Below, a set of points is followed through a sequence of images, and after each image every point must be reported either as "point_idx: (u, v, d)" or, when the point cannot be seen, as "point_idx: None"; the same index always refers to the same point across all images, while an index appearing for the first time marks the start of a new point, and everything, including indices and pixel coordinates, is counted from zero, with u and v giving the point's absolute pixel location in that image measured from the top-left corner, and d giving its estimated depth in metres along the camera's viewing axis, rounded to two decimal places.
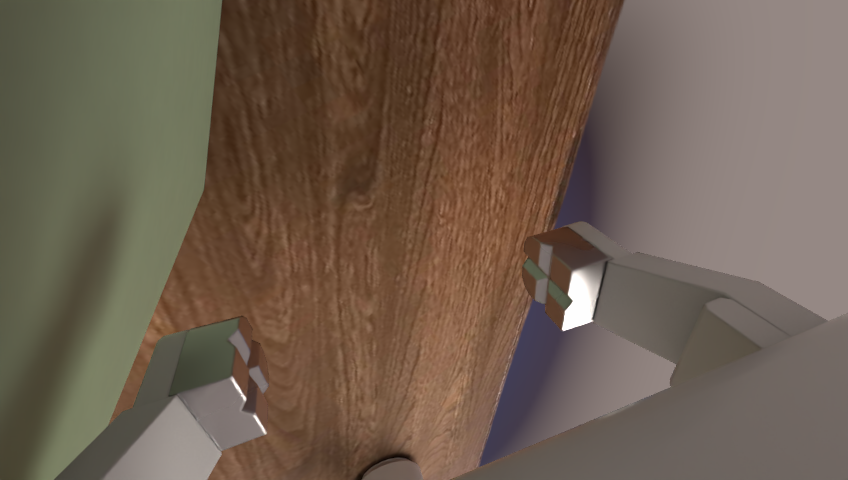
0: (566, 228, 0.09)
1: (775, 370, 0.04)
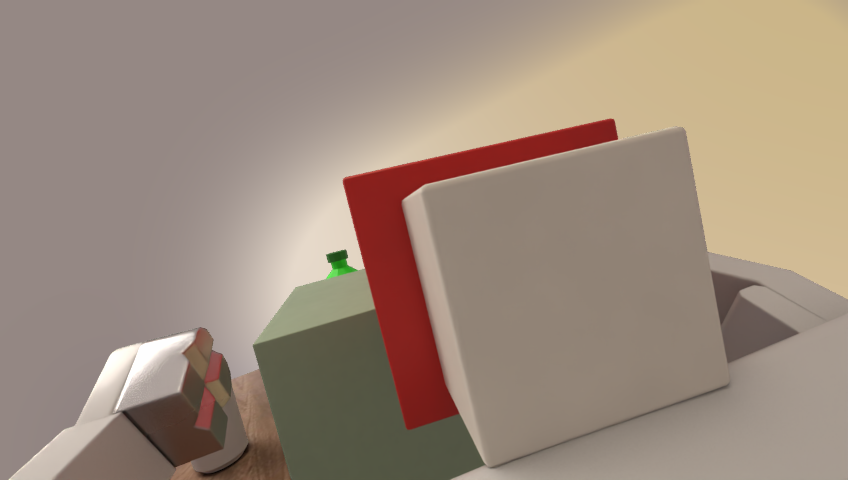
0: None
1: (774, 369, 0.04)
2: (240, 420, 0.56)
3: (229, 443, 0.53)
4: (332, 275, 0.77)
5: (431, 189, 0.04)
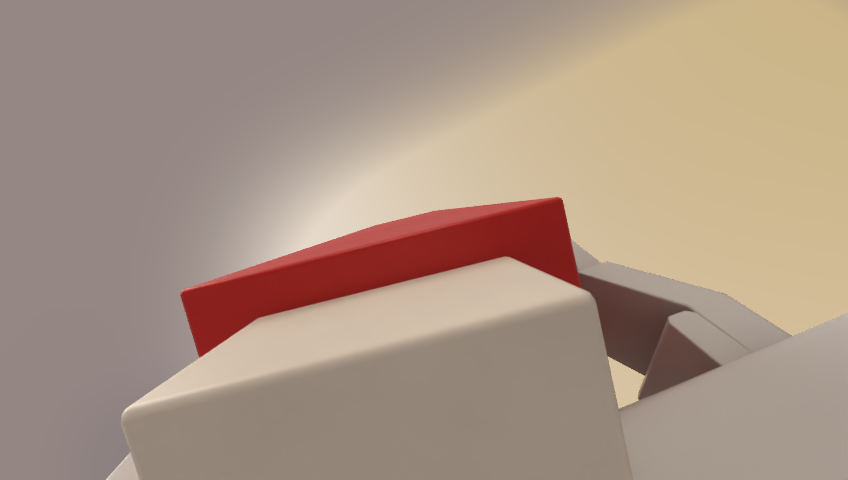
0: None
1: (775, 369, 0.04)
2: None
3: None
4: None
5: (130, 420, 0.02)
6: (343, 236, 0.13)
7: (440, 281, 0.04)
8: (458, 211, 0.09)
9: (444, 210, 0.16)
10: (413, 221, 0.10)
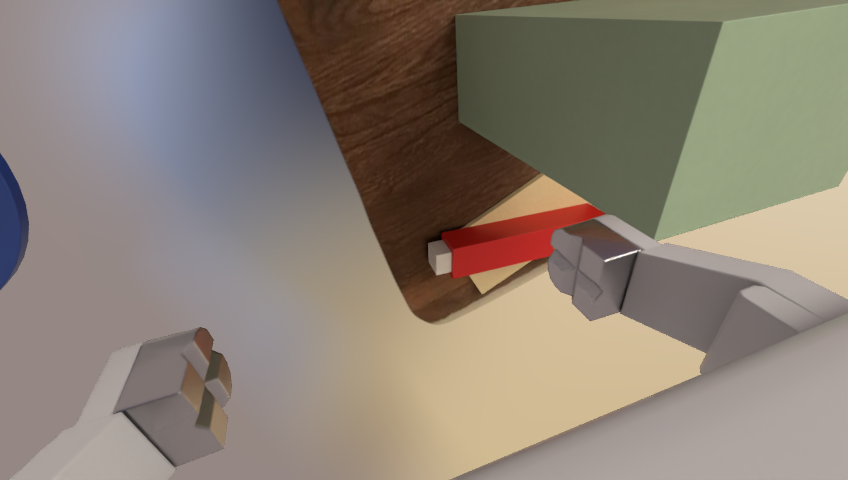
0: (593, 220, 0.09)
1: (775, 368, 0.04)
2: None
3: None
4: None
5: (435, 256, 0.43)
6: (521, 235, 0.45)
7: (447, 267, 0.45)
8: (485, 267, 0.46)
9: (536, 257, 0.48)
10: (494, 258, 0.46)
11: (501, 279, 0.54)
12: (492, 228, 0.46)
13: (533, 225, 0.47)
